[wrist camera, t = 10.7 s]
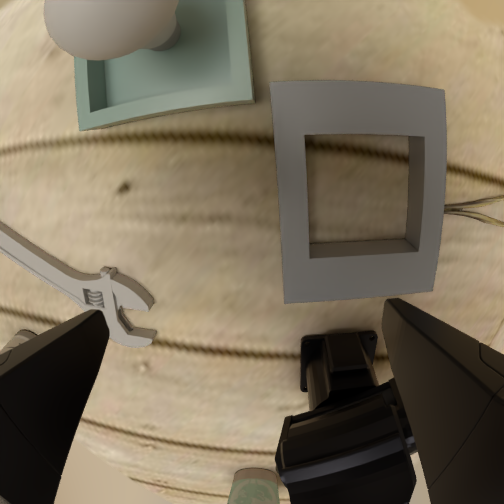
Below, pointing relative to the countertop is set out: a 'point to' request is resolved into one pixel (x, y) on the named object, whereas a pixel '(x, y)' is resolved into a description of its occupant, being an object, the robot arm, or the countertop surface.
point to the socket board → (419, 194)
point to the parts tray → (172, 70)
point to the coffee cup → (254, 487)
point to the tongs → (457, 207)
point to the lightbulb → (111, 26)
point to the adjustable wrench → (85, 287)
